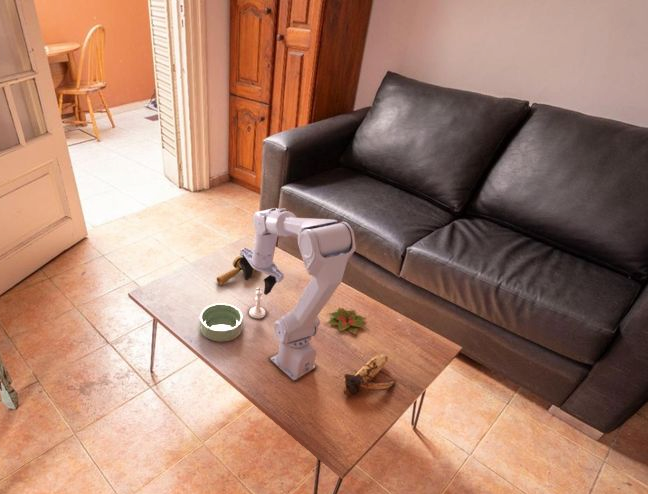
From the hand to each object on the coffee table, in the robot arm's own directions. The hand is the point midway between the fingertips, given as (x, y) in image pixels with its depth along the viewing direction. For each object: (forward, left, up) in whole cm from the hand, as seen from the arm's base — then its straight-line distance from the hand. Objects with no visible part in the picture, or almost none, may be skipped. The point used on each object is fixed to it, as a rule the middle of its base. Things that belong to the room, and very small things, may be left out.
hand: (257, 285), depth 124 cm
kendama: (+19, -9, -11) cm, 23 cm away
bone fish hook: (-39, -6, -11) cm, 41 cm away
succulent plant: (-19, -20, -11) cm, 29 cm away
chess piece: (0, -1, -11) cm, 11 cm away
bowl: (+1, +12, -11) cm, 16 cm away
